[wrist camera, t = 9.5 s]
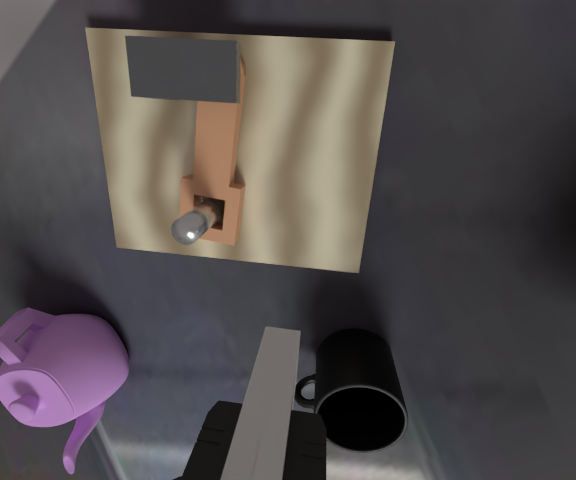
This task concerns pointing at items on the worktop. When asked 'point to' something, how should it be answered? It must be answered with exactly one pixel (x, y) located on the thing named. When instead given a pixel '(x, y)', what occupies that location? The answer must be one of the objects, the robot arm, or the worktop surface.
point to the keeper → (184, 69)
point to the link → (217, 165)
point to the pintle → (197, 221)
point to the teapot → (60, 371)
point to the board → (253, 148)
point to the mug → (357, 392)
